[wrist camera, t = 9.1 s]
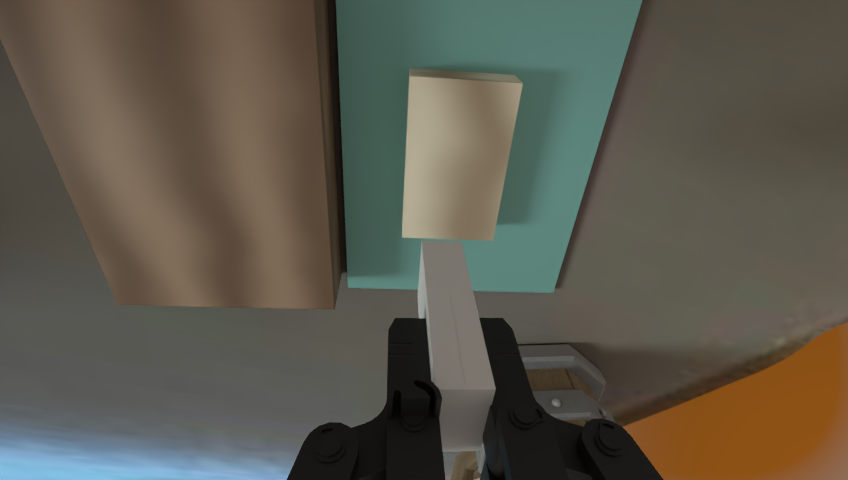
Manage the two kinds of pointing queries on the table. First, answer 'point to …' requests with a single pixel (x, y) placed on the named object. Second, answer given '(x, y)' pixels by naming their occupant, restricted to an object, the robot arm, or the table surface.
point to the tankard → (551, 394)
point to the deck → (191, 143)
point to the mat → (532, 139)
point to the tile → (457, 152)
